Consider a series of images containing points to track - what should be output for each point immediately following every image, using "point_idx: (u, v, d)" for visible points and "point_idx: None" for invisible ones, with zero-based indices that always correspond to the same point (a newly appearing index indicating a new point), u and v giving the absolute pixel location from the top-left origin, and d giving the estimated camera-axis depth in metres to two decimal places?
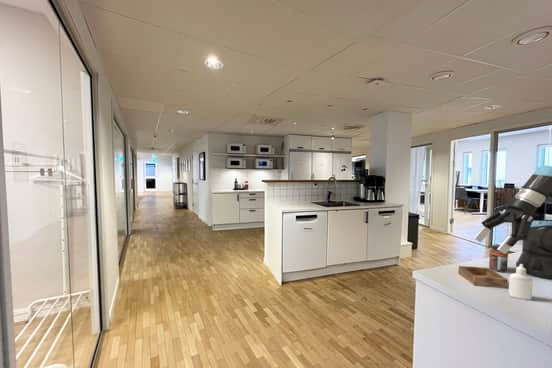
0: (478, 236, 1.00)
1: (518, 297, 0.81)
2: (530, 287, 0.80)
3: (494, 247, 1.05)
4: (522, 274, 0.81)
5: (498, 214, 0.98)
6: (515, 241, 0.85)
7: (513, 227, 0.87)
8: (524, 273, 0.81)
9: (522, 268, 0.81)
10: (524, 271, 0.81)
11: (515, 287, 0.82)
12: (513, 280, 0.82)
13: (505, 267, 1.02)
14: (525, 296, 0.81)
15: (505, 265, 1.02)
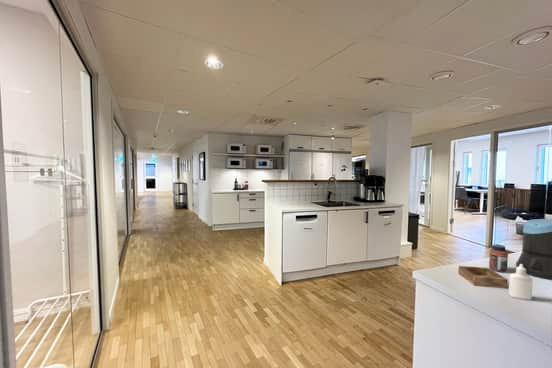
0: None
1: (518, 297, 0.81)
2: (530, 287, 0.80)
3: (494, 247, 1.05)
4: (522, 274, 0.81)
5: None
6: None
7: None
8: (524, 273, 0.81)
9: (522, 268, 0.81)
10: (524, 271, 0.81)
11: (515, 286, 0.82)
12: (513, 280, 0.82)
13: (505, 267, 1.02)
14: (525, 296, 0.81)
15: (505, 265, 1.02)
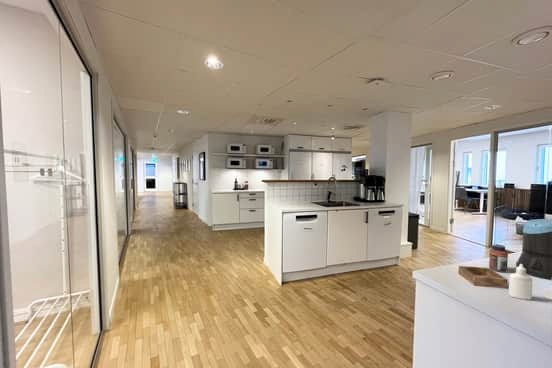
0: None
1: (518, 297, 0.81)
2: (530, 287, 0.80)
3: (494, 247, 1.05)
4: (522, 274, 0.81)
5: None
6: None
7: None
8: (524, 273, 0.81)
9: (522, 268, 0.81)
10: (524, 271, 0.81)
11: (515, 287, 0.82)
12: (513, 280, 0.82)
13: (505, 267, 1.02)
14: (525, 296, 0.81)
15: (505, 265, 1.02)
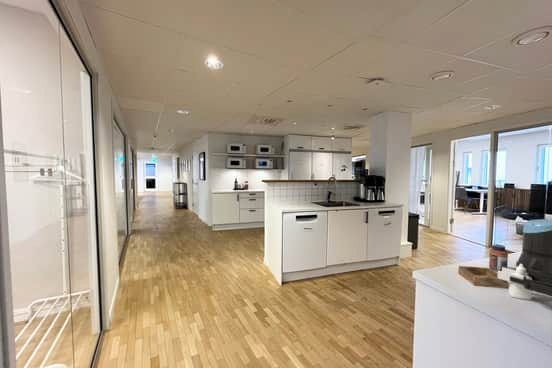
0: None
1: (518, 297, 0.81)
2: None
3: (494, 247, 1.05)
4: (522, 274, 0.81)
5: None
6: None
7: None
8: (524, 273, 0.81)
9: (522, 268, 0.81)
10: (524, 271, 0.81)
11: (515, 286, 0.82)
12: None
13: (505, 267, 1.02)
14: (525, 295, 0.81)
15: (505, 265, 1.02)
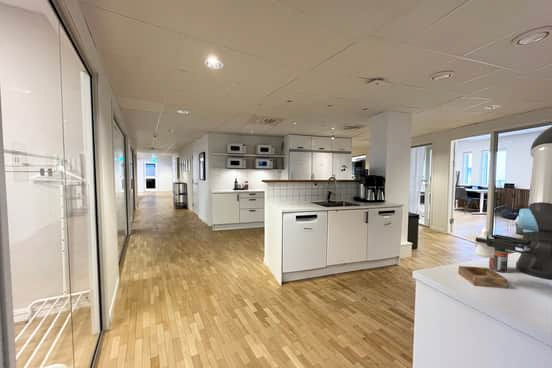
0: None
1: (483, 255, 0.93)
2: None
3: None
4: (486, 235, 0.92)
5: None
6: None
7: None
8: (488, 234, 0.92)
9: (486, 229, 0.92)
10: (488, 232, 0.92)
11: (480, 246, 0.93)
12: None
13: (505, 267, 1.02)
14: (488, 254, 0.92)
15: (505, 265, 1.02)
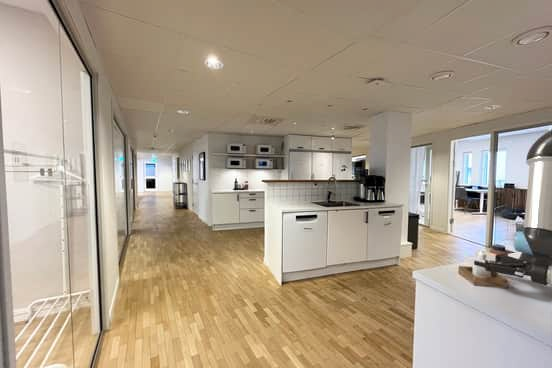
0: None
1: None
2: None
3: (494, 247, 1.05)
4: (482, 259, 0.94)
5: None
6: None
7: None
8: (484, 258, 0.94)
9: (482, 253, 0.94)
10: (484, 256, 0.94)
11: (477, 269, 0.95)
12: None
13: None
14: None
15: None
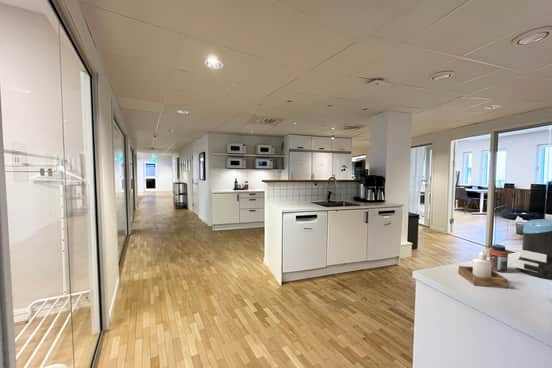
0: None
1: None
2: (489, 270, 0.93)
3: (494, 247, 1.05)
4: (482, 259, 0.94)
5: None
6: None
7: None
8: (484, 258, 0.94)
9: (483, 253, 0.94)
10: (484, 256, 0.94)
11: (477, 269, 0.95)
12: (475, 264, 0.95)
13: (505, 267, 1.02)
14: None
15: (505, 265, 1.02)
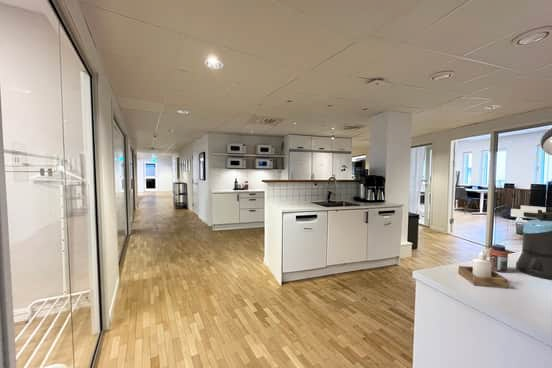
0: None
1: None
2: (489, 270, 0.93)
3: (494, 247, 1.05)
4: (482, 259, 0.94)
5: None
6: None
7: None
8: (484, 258, 0.94)
9: (483, 253, 0.94)
10: (484, 256, 0.94)
11: (477, 269, 0.95)
12: (475, 264, 0.95)
13: (505, 267, 1.02)
14: None
15: (505, 265, 1.02)
